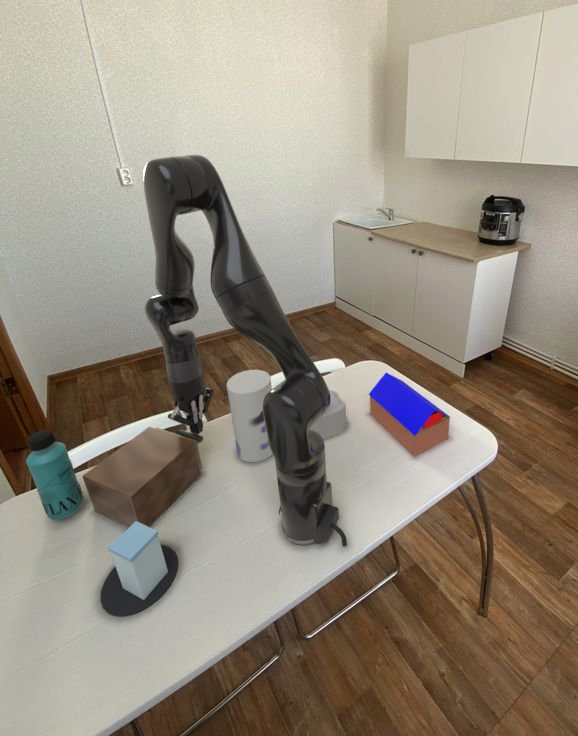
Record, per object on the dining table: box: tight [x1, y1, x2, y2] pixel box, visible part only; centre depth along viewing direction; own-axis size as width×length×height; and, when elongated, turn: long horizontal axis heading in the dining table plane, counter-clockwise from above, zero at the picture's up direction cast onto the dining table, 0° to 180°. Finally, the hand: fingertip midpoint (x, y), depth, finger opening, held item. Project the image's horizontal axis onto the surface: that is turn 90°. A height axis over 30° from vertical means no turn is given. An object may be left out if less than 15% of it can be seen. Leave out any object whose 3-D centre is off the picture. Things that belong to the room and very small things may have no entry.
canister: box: [107, 521, 168, 600], centre depth 65 cm, size 5×5×10 cm
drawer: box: [154, 427, 204, 470], centre depth 86 cm, size 19×13×8 cm
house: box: [368, 372, 451, 457], centre depth 102 cm, size 12×20×12 cm, turn 32°
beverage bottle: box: [25, 428, 84, 521], centre depth 77 cm, size 6×7×20 cm
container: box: [226, 369, 274, 463], centre depth 93 cm, size 10×10×20 cm
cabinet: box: [82, 426, 202, 529], centre depth 83 cm, size 16×14×10 cm
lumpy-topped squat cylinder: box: [309, 390, 347, 440], centre depth 103 cm, size 10×13×9 cm
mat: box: [100, 543, 179, 618], centre depth 67 cm, size 12×12×1 cm
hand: (197, 432), depth 96 cm, fingers closed
